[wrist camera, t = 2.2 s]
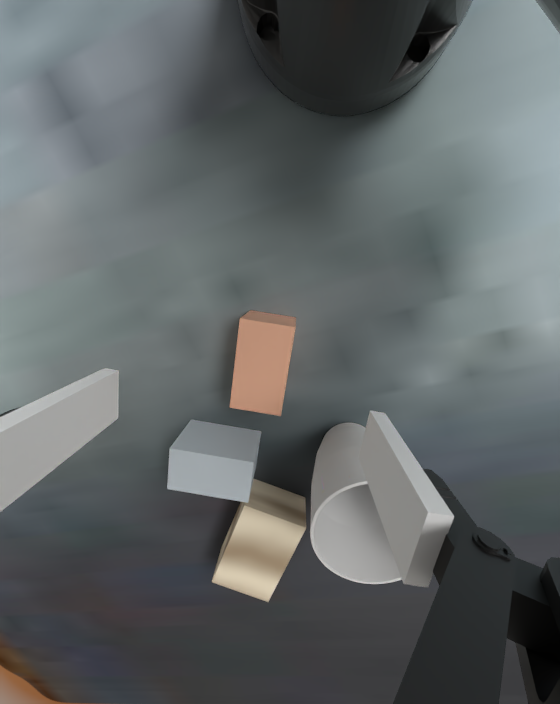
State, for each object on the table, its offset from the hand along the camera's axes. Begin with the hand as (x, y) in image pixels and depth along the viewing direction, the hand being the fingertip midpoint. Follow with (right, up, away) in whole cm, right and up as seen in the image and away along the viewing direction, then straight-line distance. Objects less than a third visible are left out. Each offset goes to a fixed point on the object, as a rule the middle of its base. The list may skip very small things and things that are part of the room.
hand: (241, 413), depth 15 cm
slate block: (-4, -6, +14) cm, 15 cm away
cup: (+9, -6, +13) cm, 17 cm away
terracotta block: (+1, +3, +11) cm, 12 cm away
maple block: (0, -15, +16) cm, 22 cm away
